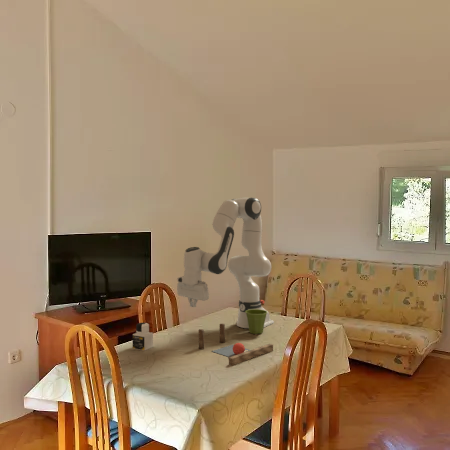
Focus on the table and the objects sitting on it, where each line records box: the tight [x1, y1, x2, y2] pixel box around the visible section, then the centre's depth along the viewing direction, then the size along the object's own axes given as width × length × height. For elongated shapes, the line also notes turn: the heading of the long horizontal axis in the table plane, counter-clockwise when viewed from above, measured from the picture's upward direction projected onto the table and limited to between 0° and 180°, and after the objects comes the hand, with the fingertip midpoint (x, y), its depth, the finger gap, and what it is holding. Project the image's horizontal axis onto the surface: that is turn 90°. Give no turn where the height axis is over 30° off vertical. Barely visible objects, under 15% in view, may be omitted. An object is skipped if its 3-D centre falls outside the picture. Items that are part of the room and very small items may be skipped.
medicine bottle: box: [132, 322, 154, 352], centre depth 242 cm, size 7×7×12 cm
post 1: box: [198, 328, 205, 350], centre depth 241 cm, size 3×3×9 cm
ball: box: [233, 342, 246, 355], centre depth 231 cm, size 6×6×6 cm
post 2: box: [219, 323, 226, 344], centre depth 251 cm, size 3×3×9 cm
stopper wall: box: [228, 343, 274, 366], centre depth 228 cm, size 28×2×3 cm, turn 136°
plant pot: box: [245, 309, 268, 335], centre depth 268 cm, size 12×12×11 cm
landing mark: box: [211, 344, 251, 358], centre depth 236 cm, size 14×14×1 cm
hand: (192, 306), depth 253 cm, fingers closed
